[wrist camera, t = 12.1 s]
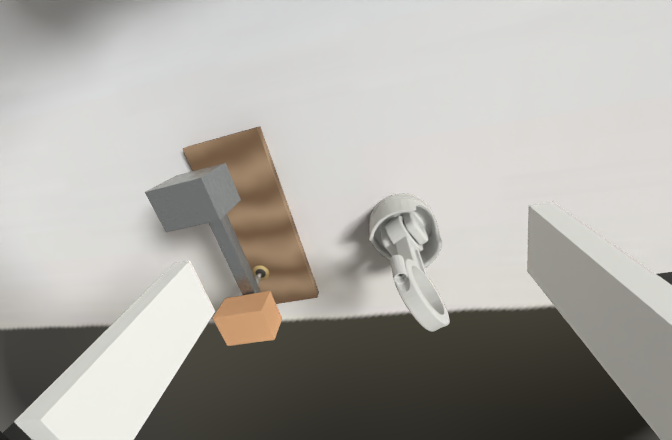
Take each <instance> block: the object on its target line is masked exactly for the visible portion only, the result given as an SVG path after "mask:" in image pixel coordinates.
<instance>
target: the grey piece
mask: <svg viewBox="0 0 672 440" xmlns="http://www.w3.org/2000/svg"><path fill="white" fill-rule="evenodd" d="M145 194H146V195H147V197H148V199H149V201H150V203H151V205H152V207H153V208H154V210H155V212H156V214H157V216H158V218H159V220H160V221H161V223H162V225H163V227H164V229H165V231H166V232H169V231H173V230H178V229H182V228H187V227H191V226H196V225H200V224H205V223H209V225H210V227H211V229H212V231H213V233H214V235H215V237H216V239H217V241H218V244H219V246H220V248H221V250H222V252H223V254H224V256H225V258H226V261H227V263H228V265H229V267H230V269H231V271H232V273H233V275H234V277H235V280H236V282H237V284H238V286H239V288H240V290H241V292H242V294H243V295H248V294H254V293H260V292H261V290H260V288H259V286H258V283H257V281H256V279H255V277H254V274H253V272H252V270H251V267H250V265H249V263H248V261H247V258H246V256H245V254H244V252H243V249H242V247H241V245H240V243H239V240H238V238H237V236H236V233H235V231H234V229H233V227H232V224H231V222H230V220H229V218H228V215H227V213H228V212H229V211H230V210H231V209H232V208H233V207H234V206H235V205H236V204H237V203H238V202H239V201H240V200H241V199H240V196H239V194H238V192H237V189H236V187H235V184H234V182H233V180H232V177H231V175H230V172H229V170H228V168H227V165H226V163H223V164H219V165H215V166H211V167H208V168H204V169H200V170H196V171H192V172H189V173H185V174H181V175H177V176H175V177H173V178H171V179H169V180H167V181H165V182H163V183H161V184H160V185H158V186H156V187H154V188H152V189H150V190H148V191H146V192H145Z"/></svg>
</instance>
